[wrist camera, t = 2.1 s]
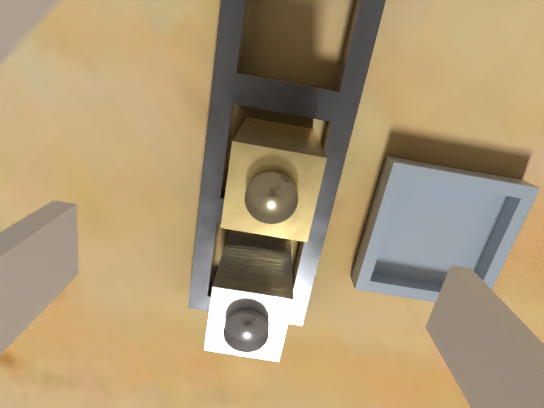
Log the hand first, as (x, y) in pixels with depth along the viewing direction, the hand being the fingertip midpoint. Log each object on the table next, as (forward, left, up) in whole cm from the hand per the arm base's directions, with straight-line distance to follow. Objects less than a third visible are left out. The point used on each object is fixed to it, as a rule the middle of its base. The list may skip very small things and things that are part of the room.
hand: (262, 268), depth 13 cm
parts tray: (+4, +14, -16) cm, 22 cm away
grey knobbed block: (+9, 0, -16) cm, 19 cm away
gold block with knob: (0, 0, -16) cm, 16 cm away
